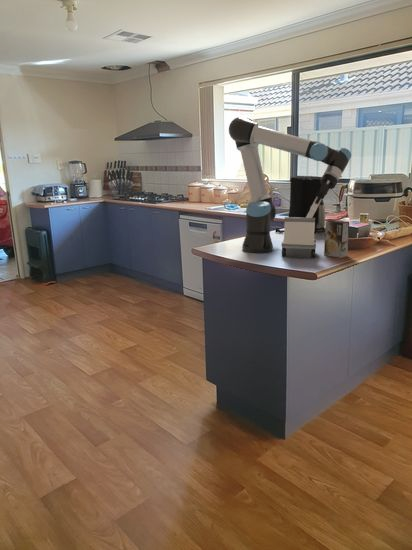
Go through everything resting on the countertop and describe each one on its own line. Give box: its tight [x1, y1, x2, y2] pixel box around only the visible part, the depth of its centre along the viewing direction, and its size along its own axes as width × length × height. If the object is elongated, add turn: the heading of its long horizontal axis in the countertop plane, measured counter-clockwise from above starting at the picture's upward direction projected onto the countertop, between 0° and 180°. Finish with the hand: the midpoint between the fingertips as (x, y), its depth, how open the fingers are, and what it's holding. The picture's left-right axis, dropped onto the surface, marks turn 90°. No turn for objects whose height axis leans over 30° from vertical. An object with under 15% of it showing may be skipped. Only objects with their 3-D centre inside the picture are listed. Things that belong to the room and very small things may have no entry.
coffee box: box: [323, 219, 350, 259], centre depth 199 cm, size 9×6×16 cm
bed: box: [280, 237, 317, 259], centre depth 202 cm, size 15×15×7 cm
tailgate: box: [283, 216, 315, 247], centre depth 193 cm, size 13×2×13 cm, turn 76°
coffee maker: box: [275, 175, 328, 233], centre depth 263 cm, size 23×32×34 cm
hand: (309, 215), depth 201 cm, fingers open, 13 cm apart
